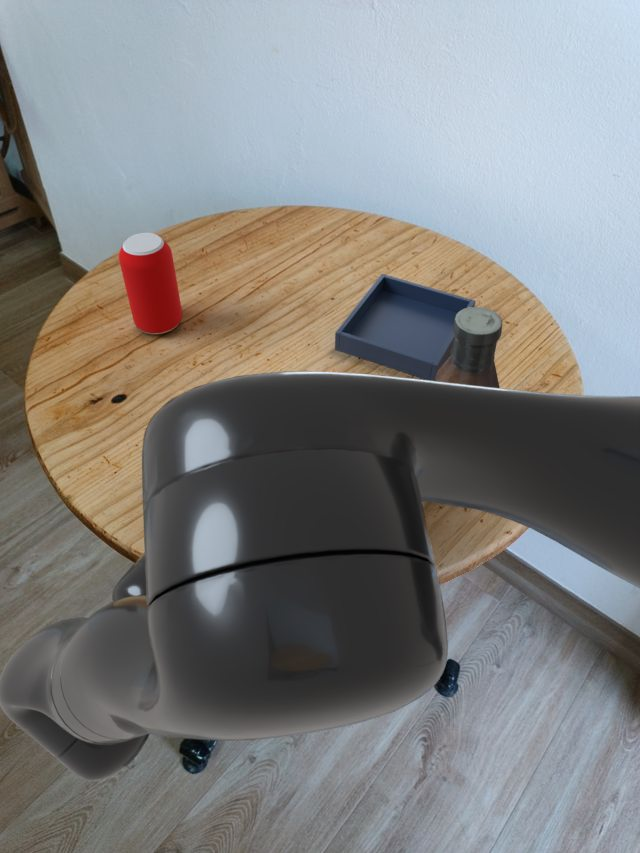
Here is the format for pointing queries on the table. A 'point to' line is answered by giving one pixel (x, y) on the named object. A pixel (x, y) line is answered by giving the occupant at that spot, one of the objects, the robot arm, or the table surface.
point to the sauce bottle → (473, 349)
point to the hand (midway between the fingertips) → (331, 403)
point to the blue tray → (402, 326)
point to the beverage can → (150, 283)
